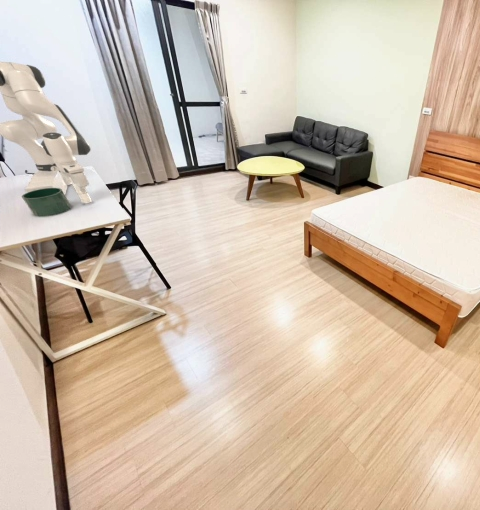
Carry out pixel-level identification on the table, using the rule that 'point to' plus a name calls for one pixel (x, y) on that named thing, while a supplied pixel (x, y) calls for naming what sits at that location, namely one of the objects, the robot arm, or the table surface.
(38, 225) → the table surface
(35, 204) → the pot
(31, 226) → the table surface
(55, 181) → the cream long block
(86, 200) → the tube
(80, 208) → the table surface
